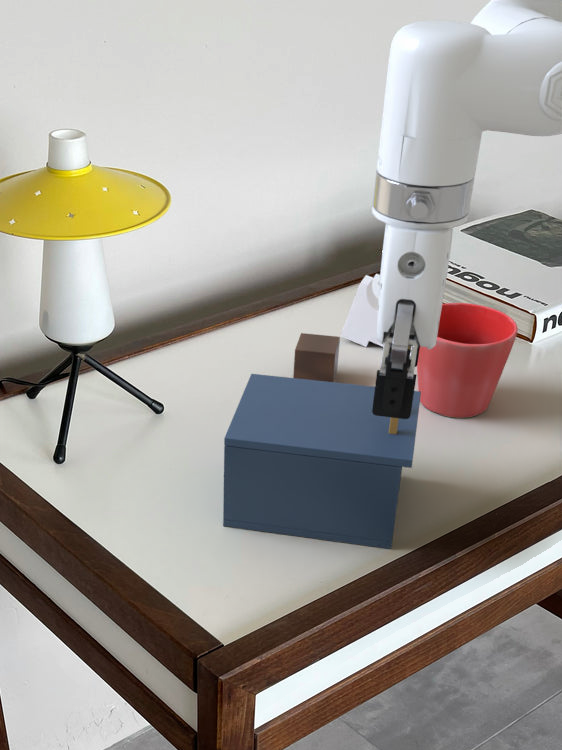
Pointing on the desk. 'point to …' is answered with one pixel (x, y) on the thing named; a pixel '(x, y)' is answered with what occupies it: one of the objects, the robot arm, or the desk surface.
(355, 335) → the bracket
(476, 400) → the flower pot
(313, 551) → the desk surface
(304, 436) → the lid
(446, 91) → the robot arm
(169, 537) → the desk surface
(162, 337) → the desk surface
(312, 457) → the chest
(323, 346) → the block
